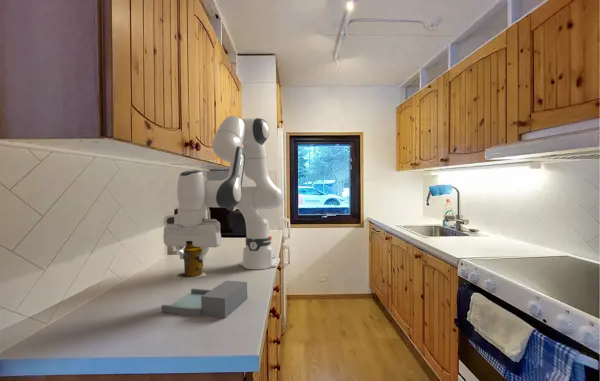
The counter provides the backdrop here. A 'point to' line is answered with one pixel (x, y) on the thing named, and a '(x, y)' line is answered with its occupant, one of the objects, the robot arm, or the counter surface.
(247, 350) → the counter surface
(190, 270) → the condiment
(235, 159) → the robot arm
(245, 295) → the teal-floored tray
